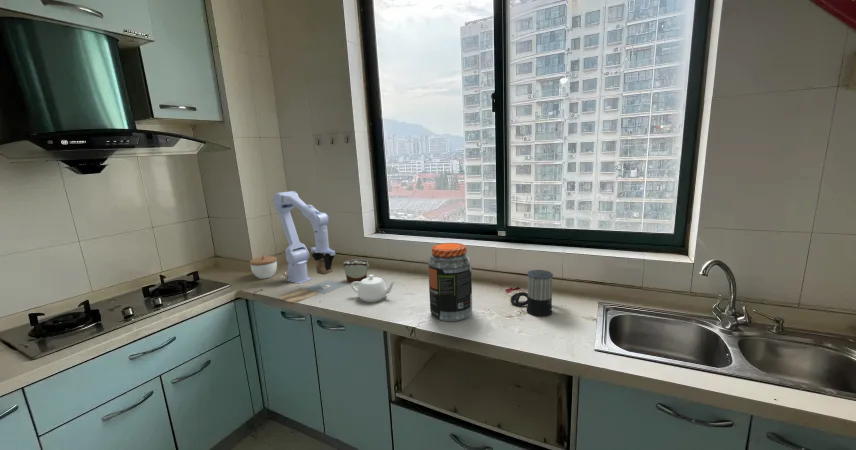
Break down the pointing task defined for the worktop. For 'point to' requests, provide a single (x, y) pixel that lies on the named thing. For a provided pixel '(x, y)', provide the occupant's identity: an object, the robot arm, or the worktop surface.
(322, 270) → the walnut block
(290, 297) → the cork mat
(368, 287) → the teapot
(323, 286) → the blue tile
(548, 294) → the milk frother
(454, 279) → the supplement tub
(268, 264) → the lidded bowl
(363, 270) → the food container
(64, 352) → the worktop surface
